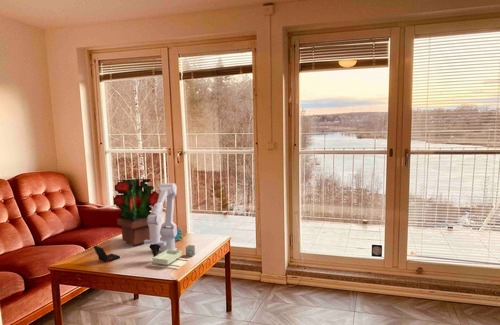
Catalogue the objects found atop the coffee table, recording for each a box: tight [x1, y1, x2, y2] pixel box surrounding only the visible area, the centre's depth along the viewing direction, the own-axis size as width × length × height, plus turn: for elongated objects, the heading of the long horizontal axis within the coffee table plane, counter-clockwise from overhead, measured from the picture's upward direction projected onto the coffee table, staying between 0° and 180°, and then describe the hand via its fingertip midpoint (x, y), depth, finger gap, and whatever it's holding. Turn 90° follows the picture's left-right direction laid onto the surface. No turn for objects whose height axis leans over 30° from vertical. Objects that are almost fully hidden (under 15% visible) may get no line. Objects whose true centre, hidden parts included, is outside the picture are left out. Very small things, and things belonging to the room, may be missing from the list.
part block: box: [185, 244, 196, 258], centre depth 208 cm, size 4×4×6 cm
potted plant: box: [112, 177, 160, 247], centre depth 234 cm, size 22×22×45 cm
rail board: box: [149, 257, 191, 270], centre depth 197 cm, size 19×14×1 cm
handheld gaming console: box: [92, 245, 121, 264], centre depth 203 cm, size 9×12×10 cm
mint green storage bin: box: [151, 249, 183, 265], centre depth 197 cm, size 10×15×4 cm
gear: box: [175, 228, 184, 242], centre depth 241 cm, size 11×6×10 cm
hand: (155, 256), depth 200 cm, fingers closed
